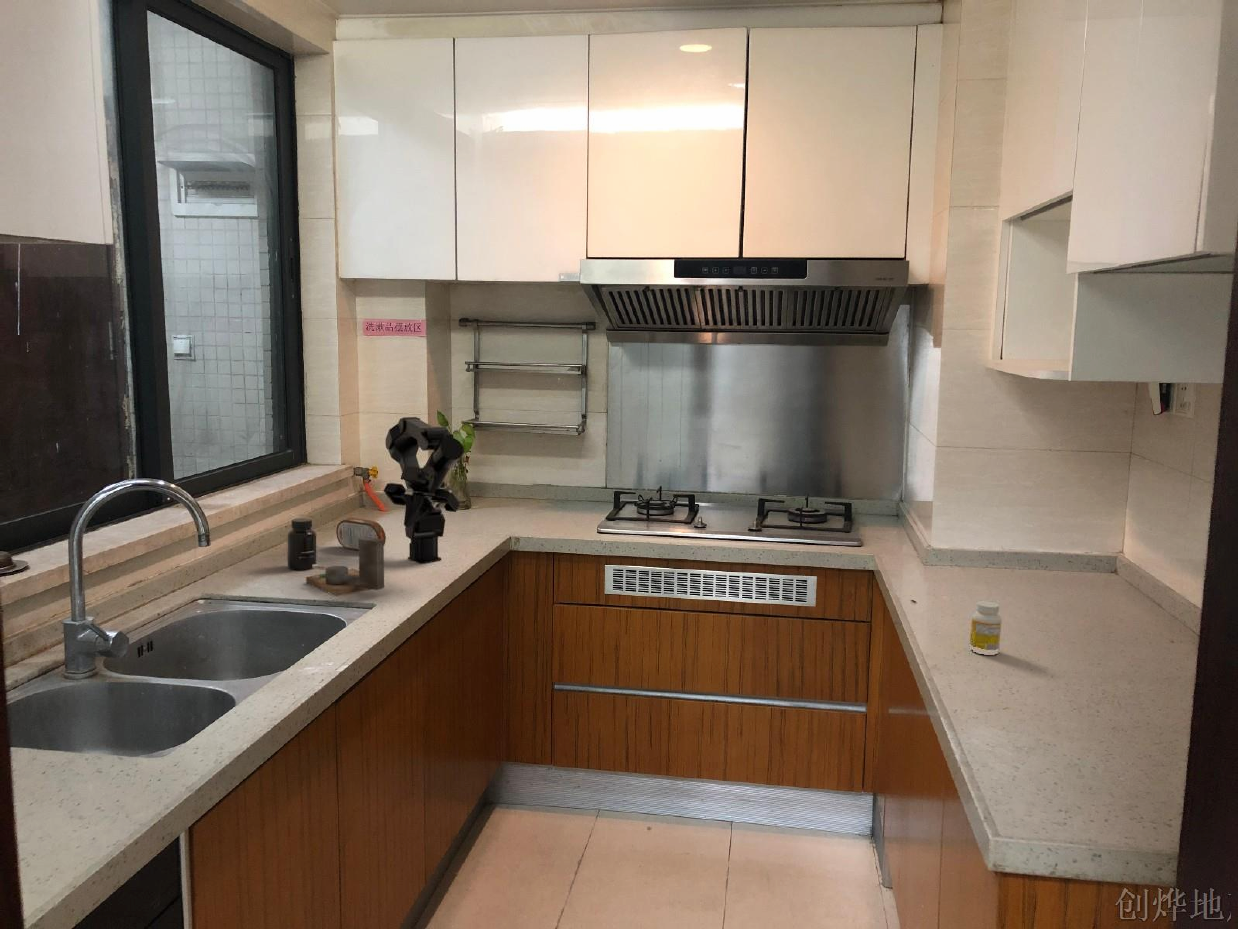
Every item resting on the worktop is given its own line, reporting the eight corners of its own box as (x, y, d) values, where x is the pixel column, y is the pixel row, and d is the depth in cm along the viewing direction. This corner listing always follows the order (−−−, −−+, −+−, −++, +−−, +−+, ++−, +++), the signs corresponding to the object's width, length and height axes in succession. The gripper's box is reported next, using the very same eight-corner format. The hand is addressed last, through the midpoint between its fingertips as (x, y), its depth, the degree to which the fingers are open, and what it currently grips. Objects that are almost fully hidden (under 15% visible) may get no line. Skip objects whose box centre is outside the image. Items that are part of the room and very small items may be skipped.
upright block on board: (305, 579, 214) (304, 532, 212) (321, 574, 218) (320, 528, 217) (373, 591, 206) (372, 543, 204) (387, 586, 210) (387, 538, 209)
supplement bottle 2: (993, 658, 178) (997, 610, 177) (965, 651, 181) (969, 604, 180) (1002, 651, 182) (1006, 604, 181) (975, 645, 186) (978, 598, 184)
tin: (386, 552, 249) (386, 521, 248) (379, 555, 246) (378, 523, 245) (342, 545, 255) (341, 515, 254) (334, 548, 252) (333, 517, 251)
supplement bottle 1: (307, 571, 228) (306, 523, 226) (282, 569, 229) (280, 521, 227) (322, 565, 234) (321, 518, 233) (297, 563, 236) (296, 516, 234)
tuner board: (352, 574, 226) (352, 566, 226) (383, 586, 216) (383, 577, 216) (306, 583, 218) (306, 574, 217) (335, 596, 208) (335, 587, 208)
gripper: (387, 449, 225) (357, 502, 216) (452, 456, 217) (423, 510, 209) (408, 477, 233) (380, 529, 225) (471, 484, 225) (444, 538, 217)
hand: (406, 526), depth 219 cm, fingers closed
